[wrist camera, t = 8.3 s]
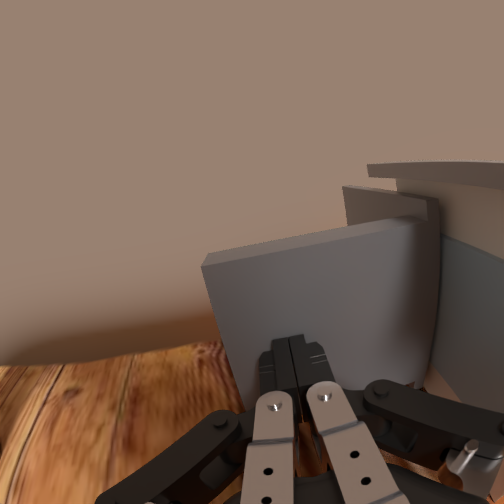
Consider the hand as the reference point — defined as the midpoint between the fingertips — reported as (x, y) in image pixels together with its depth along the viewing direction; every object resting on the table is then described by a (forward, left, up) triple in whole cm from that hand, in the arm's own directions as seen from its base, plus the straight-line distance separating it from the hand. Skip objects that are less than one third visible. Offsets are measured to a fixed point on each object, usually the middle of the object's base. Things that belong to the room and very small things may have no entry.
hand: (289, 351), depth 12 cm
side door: (+3, +7, -6) cm, 9 cm away
